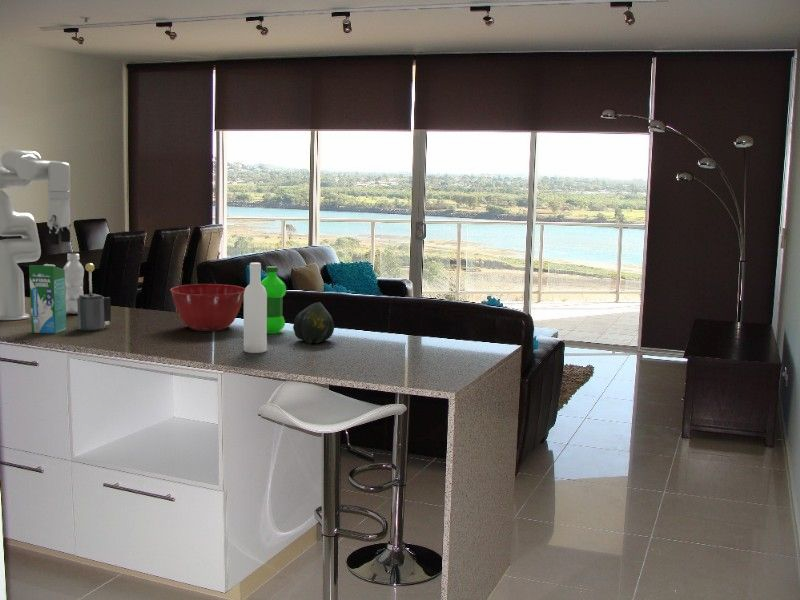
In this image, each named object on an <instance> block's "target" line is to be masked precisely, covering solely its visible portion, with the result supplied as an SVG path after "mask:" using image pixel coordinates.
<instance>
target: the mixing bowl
mask: <svg viewBox="0 0 800 600" xmlns="http://www.w3.org/2000/svg"><path fill="white" fill-rule="evenodd" d="M245 289H246V287H242V286H239V285H232V284H231V285H230V284H219V283H215V284H214V283H197V284H194V283H193V284H183V285H177V286H174V287H172V288H170V289H169V291H170V292H171V296H172V298H173V299H172V300H173V303H174V306H175V309H176V311H177V313H178V315H179V317H180V319H181V321H182V322H183V323H184V324H185V326H187V327H188V328H190V329H192V330H194V331H200V332H214V331H215V332H216V331H223V330H225V329H226V328H228V327H229V326H231V325H232V324H233V323H234V321H235V319H237V318H236V317H237V316H238V313H239V312H240V309H241V308H242V304H243V302H244V291H245Z"/></svg>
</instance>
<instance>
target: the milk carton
mask: <svg viewBox="0 0 800 600" xmlns="http://www.w3.org/2000/svg"><path fill="white" fill-rule="evenodd" d="M28 268H29V269H28V271H29V274H28V275H29V293H30V294H29V298H30V301H29V302H30V322H31V324H30V325H31V327H30V328H31V333H32V334H52V335H53V334H57V333H61V332H63V331H66V330H67V312H66V286H65V270H64V268H60V267H57V266H56V265H55V264H50V263H49V264H48V263H45V264H43V265H38V264H36V265H35V264H34V265H33V264H30V265H28Z"/></svg>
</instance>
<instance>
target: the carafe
mask: <svg viewBox="0 0 800 600" xmlns="http://www.w3.org/2000/svg"><path fill="white" fill-rule="evenodd" d="M111 305H112V304H111V297H110V296H107V297H105V296H103V295H101V294H96V293H92V296H89V294H84V295H79V297H78V298H77V309H78V314H77V328H78V331H80V332H98V331H103V330H105V328H106V325H105V321H109V322H111V321H112V315H111V311H112V310H111V307H112V306H111Z"/></svg>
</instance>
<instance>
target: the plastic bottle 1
mask: <svg viewBox="0 0 800 600" xmlns="http://www.w3.org/2000/svg"><path fill="white" fill-rule="evenodd" d="M66 257H67V258H66V259H67V262H66V263H65V265H64V266H63V269H64V270H65V296H66V314H71V315H78V309H77V298H78V297H79V295H85V294H84V275H85V269H84V266H83V265H82V263H81V262H80V260H81V259H80V254H79V253H67V256H66Z"/></svg>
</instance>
